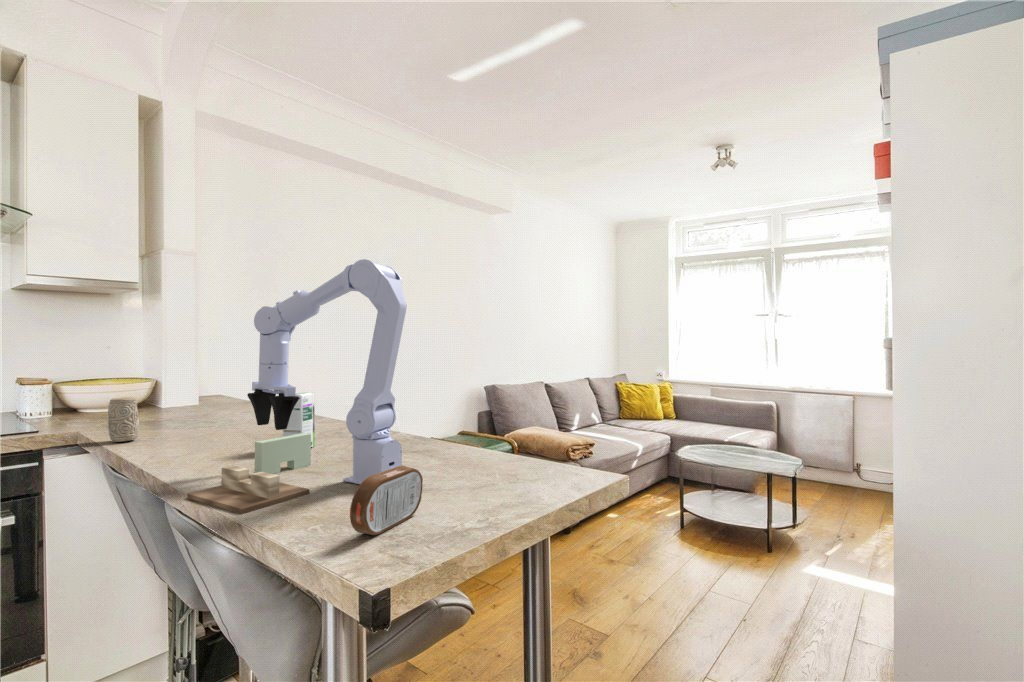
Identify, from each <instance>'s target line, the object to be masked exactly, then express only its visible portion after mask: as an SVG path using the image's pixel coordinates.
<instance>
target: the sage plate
mask: <svg viewBox="0 0 1024 682" xmlns="http://www.w3.org/2000/svg"><path fill="white" fill-rule="evenodd" d="M311 451H312V448H311V434H307V433H302V434H296V435H290V436H285V437H283V436H281V437H280V436H279V437H275V438H269V439H265V440H264V439H263V440H257V441H254V473H258V472H265V473H270V474H275V475H277V474H280V473H281V464H283V463H286V467H287V469H292V470H295V469H300V468H305V467H308V466H311V465H312V464H311V462H312V461H311V459H312V458H311V456H312V455H311V454H312V452H311Z"/></svg>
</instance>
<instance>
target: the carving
mask: <svg viewBox="0 0 1024 682" xmlns="http://www.w3.org/2000/svg"><path fill="white" fill-rule="evenodd" d="M137 400H138V399H137V398H136V397H133V396H132V397H131V396H129V397H128V396H124V397H114V398H111V399H110V400H109V402H108V405H107V406H108V409H107V410H108V411H107V414H108V416H107V427H108V428H107V430H108V434H109V436H108V437H109V440H110V441H111V442H112V443H123V442H128V441H132V440H136V439H138V438H139V437H140V436H139V435H140V434H139V433H140V421H139V420H140V419H139V410H138V401H137Z"/></svg>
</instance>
